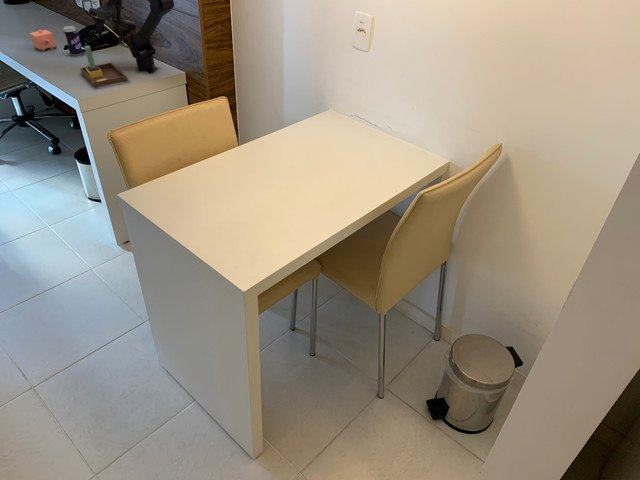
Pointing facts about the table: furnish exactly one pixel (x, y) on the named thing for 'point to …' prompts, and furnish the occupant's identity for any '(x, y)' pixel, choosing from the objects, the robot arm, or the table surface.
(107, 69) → the tray
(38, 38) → the pink cube teapot
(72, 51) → the beverage can
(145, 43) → the robot arm
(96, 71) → the sponge wand
